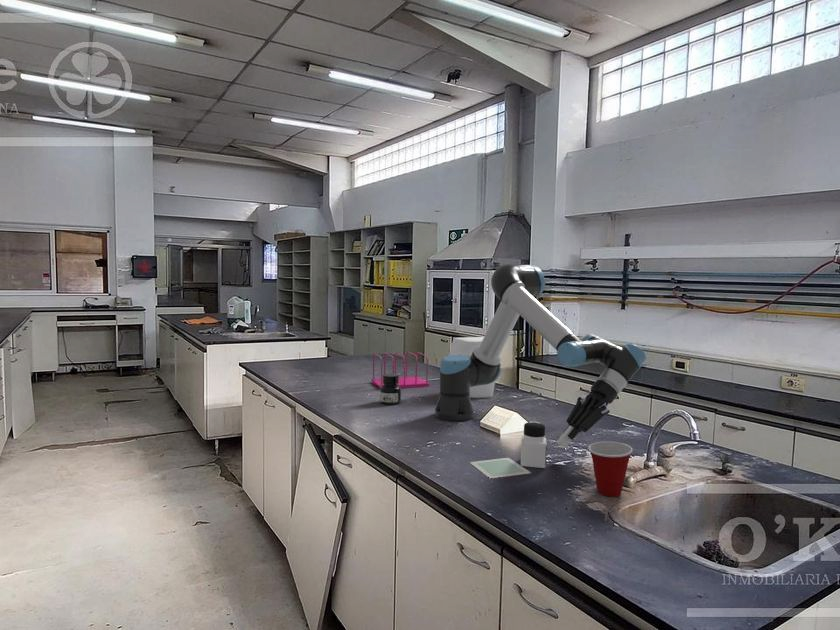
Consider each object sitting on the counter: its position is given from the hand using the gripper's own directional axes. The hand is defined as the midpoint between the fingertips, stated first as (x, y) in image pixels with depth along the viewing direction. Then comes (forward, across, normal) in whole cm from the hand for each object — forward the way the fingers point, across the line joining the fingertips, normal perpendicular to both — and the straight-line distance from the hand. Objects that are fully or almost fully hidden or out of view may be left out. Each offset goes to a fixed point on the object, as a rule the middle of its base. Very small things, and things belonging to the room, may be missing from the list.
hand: (560, 445), depth 160 cm
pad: (+18, 0, +11) cm, 21 cm away
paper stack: (-5, +89, -11) cm, 90 cm away
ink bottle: (+23, +83, +17) cm, 88 cm away
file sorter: (+12, +117, +6) cm, 118 cm away
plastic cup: (+5, -24, -2) cm, 24 cm away
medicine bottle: (+10, 0, +3) cm, 10 cm away
